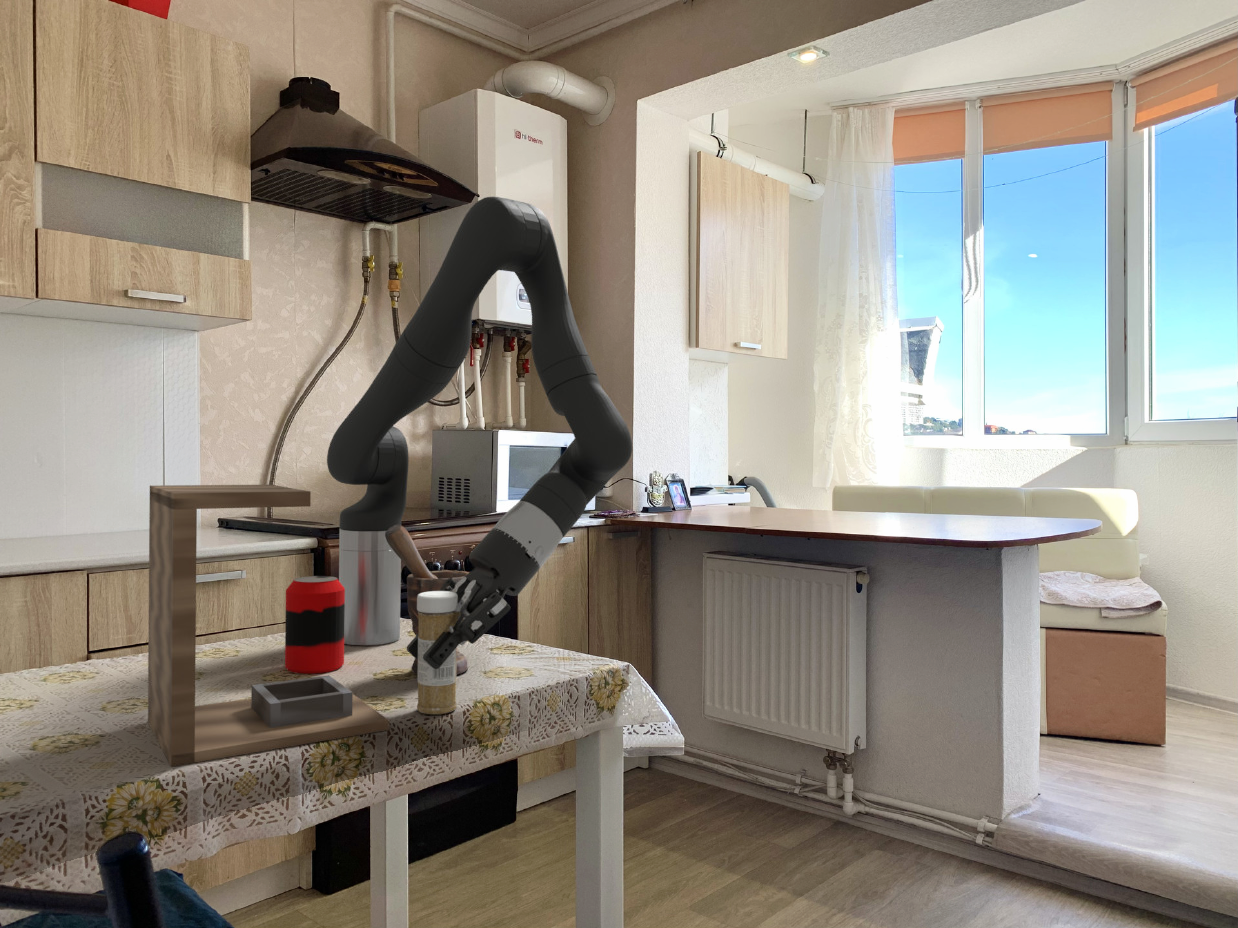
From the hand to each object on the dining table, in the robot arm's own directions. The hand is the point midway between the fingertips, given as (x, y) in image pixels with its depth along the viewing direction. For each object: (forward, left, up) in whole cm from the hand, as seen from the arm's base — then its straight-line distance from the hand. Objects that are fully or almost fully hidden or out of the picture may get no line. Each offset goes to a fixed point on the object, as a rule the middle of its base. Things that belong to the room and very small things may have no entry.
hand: (421, 658), depth 102 cm
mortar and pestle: (-16, +8, -6) cm, 19 cm away
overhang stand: (-4, -16, -6) cm, 17 cm away
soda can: (-27, -4, -6) cm, 28 cm away
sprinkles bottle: (0, +2, -6) cm, 7 cm away
